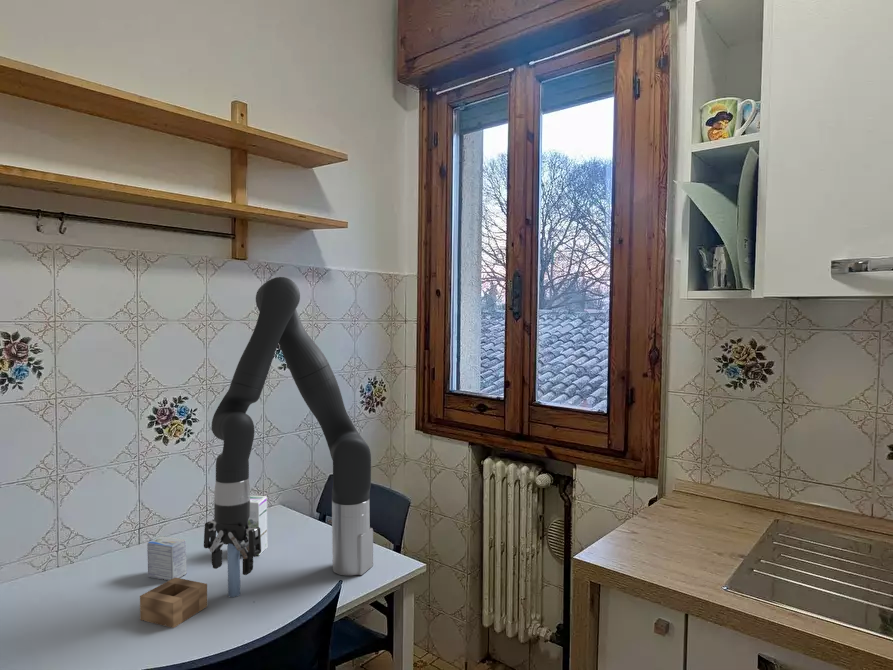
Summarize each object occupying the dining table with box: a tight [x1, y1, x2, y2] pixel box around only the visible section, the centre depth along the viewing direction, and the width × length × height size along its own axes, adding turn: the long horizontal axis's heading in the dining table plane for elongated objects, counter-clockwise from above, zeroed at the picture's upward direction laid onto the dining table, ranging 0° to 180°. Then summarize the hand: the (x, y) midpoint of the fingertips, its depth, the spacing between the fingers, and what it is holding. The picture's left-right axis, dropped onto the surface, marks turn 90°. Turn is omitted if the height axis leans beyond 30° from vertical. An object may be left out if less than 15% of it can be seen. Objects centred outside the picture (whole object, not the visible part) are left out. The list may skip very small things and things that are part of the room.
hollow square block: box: [139, 577, 208, 629], centre depth 118 cm, size 9×9×5 cm
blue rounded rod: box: [226, 544, 241, 598], centre depth 126 cm, size 3×3×12 cm
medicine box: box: [146, 535, 187, 581], centre depth 136 cm, size 8×4×9 cm, turn 71°
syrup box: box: [240, 495, 269, 556], centre depth 150 cm, size 6×6×14 cm
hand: (231, 570), depth 126 cm, fingers open, 8 cm apart
